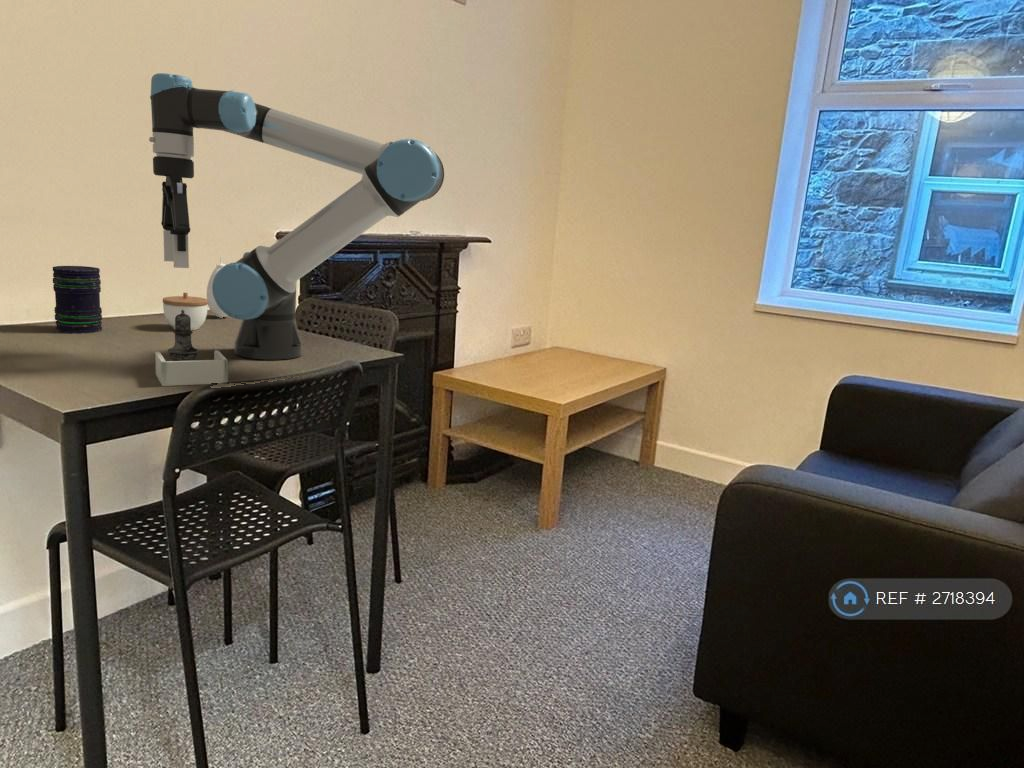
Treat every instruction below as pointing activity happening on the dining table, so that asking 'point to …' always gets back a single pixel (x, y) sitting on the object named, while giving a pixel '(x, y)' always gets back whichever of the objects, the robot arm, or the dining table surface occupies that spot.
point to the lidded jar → (185, 309)
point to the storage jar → (77, 299)
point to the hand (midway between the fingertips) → (176, 264)
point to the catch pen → (191, 371)
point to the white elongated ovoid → (211, 301)
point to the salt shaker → (183, 340)
